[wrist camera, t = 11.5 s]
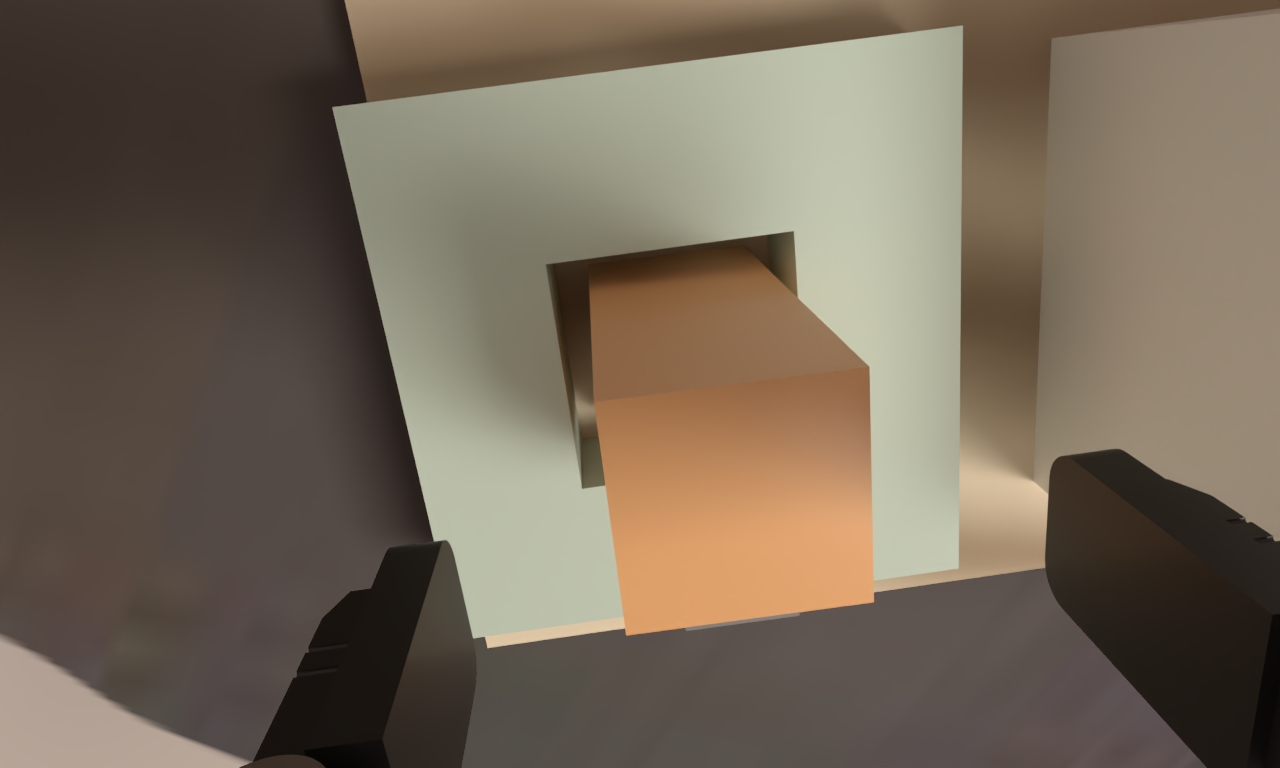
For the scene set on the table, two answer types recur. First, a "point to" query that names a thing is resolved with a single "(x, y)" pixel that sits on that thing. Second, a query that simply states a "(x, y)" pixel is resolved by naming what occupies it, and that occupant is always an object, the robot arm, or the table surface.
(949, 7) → the jack board
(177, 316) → the table surface
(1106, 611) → the robot arm
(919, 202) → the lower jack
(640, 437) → the plug
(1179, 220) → the white socket block
